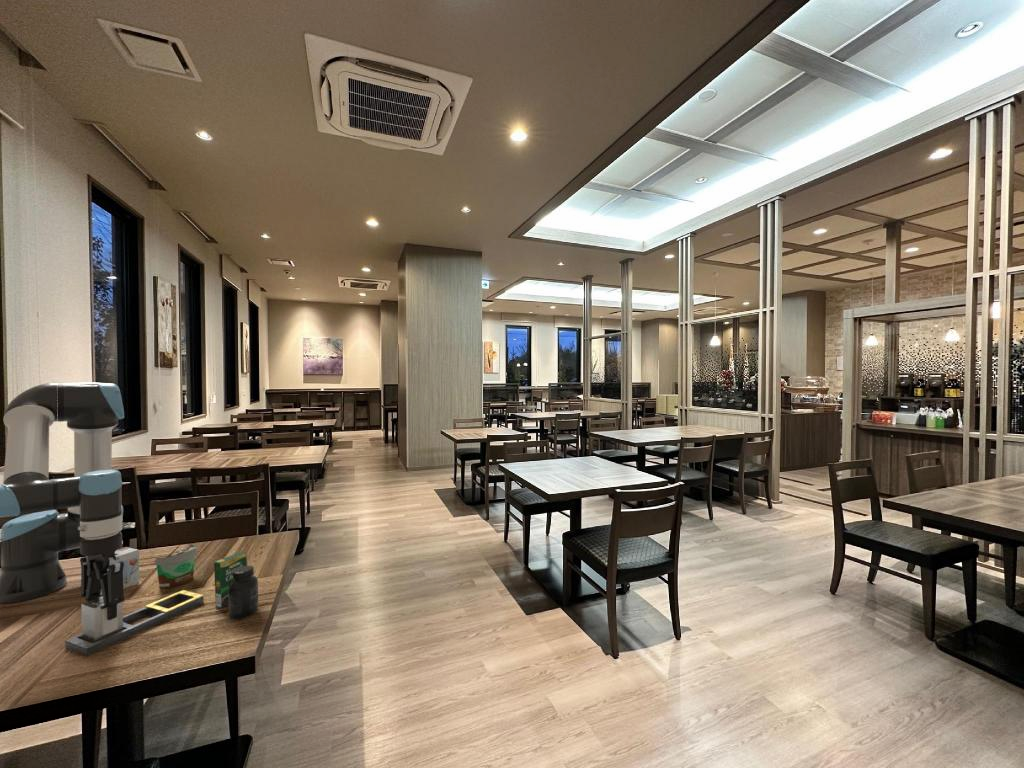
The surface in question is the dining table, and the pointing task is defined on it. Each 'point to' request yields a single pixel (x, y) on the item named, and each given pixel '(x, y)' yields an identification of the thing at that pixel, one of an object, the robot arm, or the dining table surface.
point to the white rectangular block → (97, 620)
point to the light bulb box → (128, 566)
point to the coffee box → (226, 576)
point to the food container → (176, 568)
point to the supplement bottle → (243, 593)
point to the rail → (129, 630)
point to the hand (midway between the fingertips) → (102, 628)
